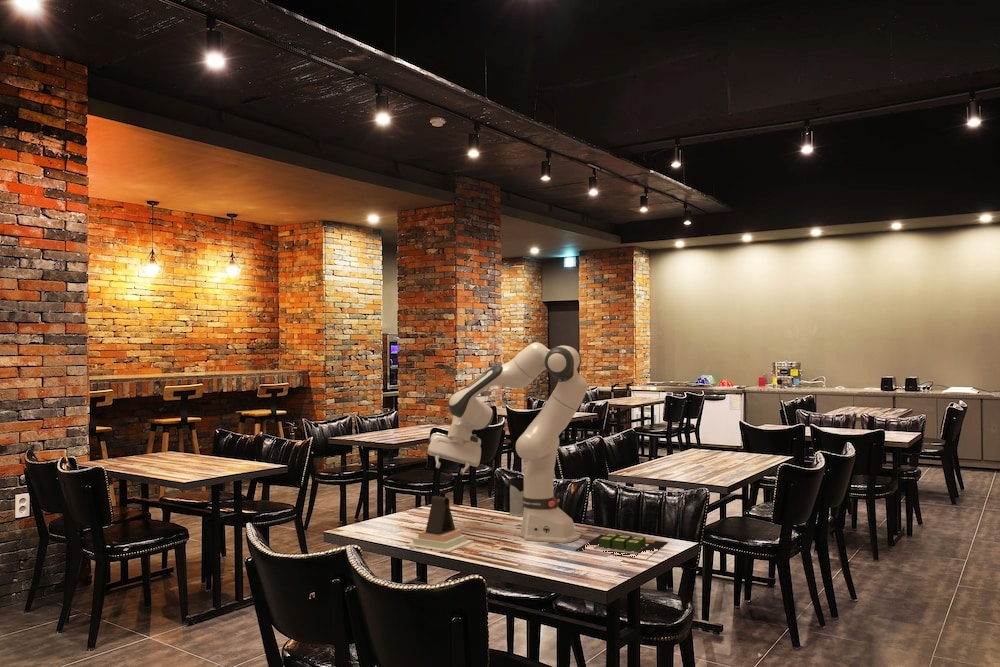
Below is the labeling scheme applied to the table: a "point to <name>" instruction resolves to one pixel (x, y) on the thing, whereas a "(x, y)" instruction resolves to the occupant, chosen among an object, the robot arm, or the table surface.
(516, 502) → the glass holder
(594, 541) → the sushi
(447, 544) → the base
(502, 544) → the table surface
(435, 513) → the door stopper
